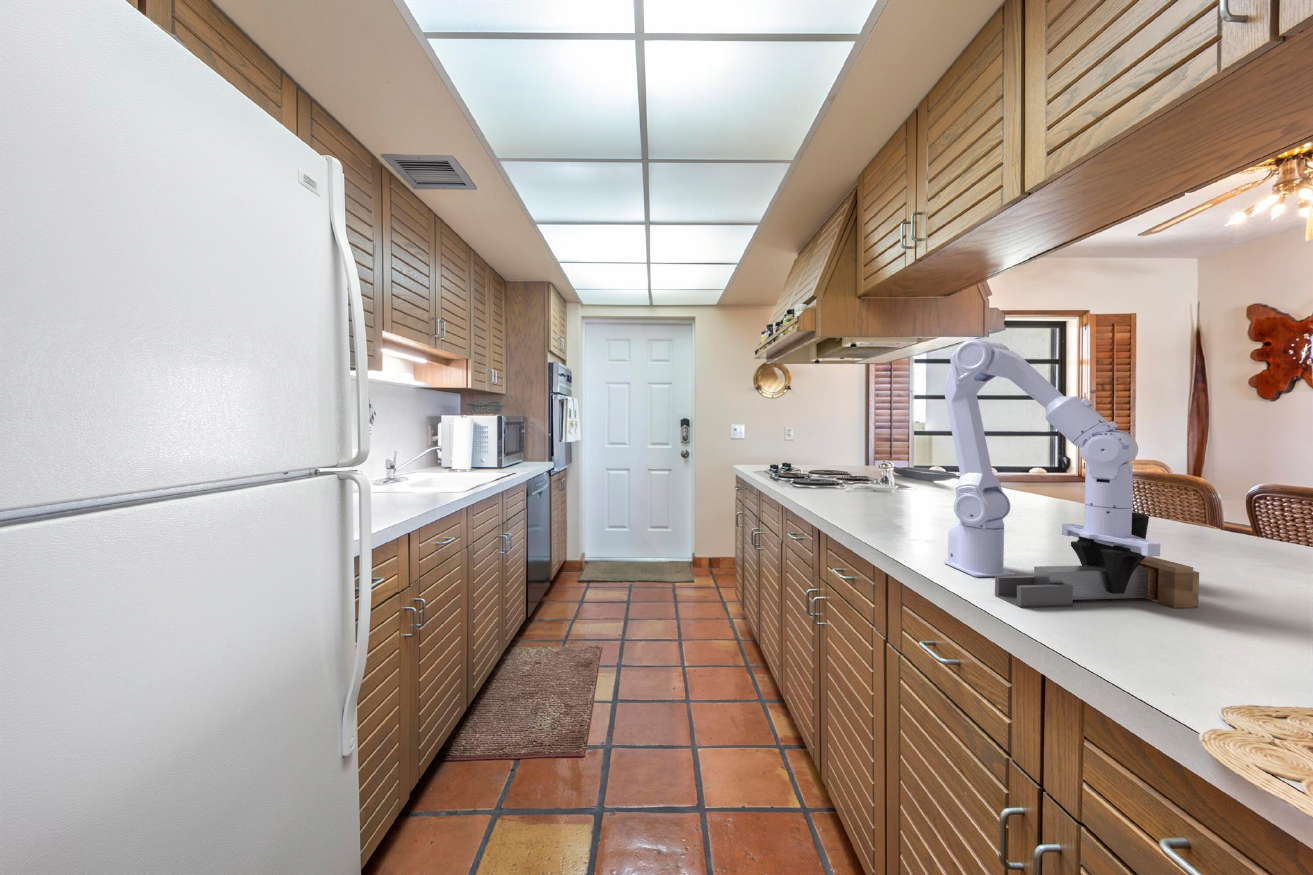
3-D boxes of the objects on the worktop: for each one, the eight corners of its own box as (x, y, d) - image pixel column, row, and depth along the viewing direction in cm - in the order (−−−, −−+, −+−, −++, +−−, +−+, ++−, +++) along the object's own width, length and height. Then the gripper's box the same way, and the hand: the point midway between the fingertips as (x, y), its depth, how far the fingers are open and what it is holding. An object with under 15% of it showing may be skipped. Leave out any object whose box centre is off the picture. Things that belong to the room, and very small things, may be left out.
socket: (1116, 588, 86) (1117, 552, 86) (1138, 588, 87) (1139, 552, 87) (1174, 608, 77) (1175, 567, 77) (1198, 607, 78) (1199, 567, 78)
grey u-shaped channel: (994, 595, 83) (995, 576, 83) (1043, 594, 84) (1043, 575, 83) (1020, 607, 78) (1021, 587, 78) (1072, 606, 78) (1072, 585, 78)
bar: (1033, 593, 82) (1034, 566, 82) (1135, 591, 83) (1136, 563, 83) (1049, 600, 79) (1050, 571, 79) (1155, 597, 80) (1156, 569, 80)
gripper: (1046, 499, 88) (1044, 575, 88) (1130, 514, 73) (1127, 606, 74) (1084, 498, 88) (1082, 575, 89) (1174, 513, 74) (1171, 604, 74)
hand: (1105, 589), depth 81 cm, fingers closed on bar, 3 cm apart
